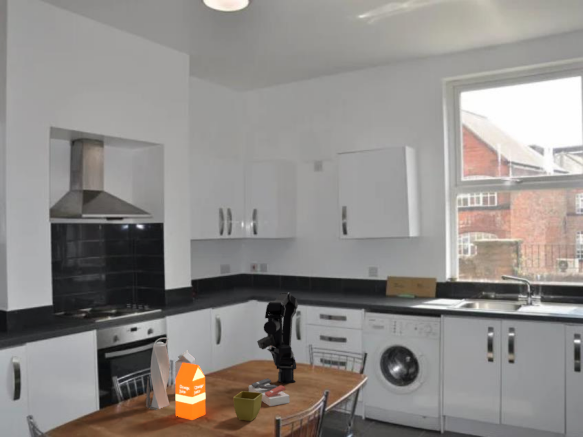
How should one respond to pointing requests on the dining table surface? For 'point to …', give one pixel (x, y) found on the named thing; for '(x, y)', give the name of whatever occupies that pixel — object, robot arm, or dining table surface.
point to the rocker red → (275, 391)
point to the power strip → (273, 400)
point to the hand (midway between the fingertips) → (276, 365)
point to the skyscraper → (159, 376)
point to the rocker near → (261, 382)
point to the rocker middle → (267, 386)
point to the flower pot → (247, 405)
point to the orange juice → (190, 392)
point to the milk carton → (183, 359)
